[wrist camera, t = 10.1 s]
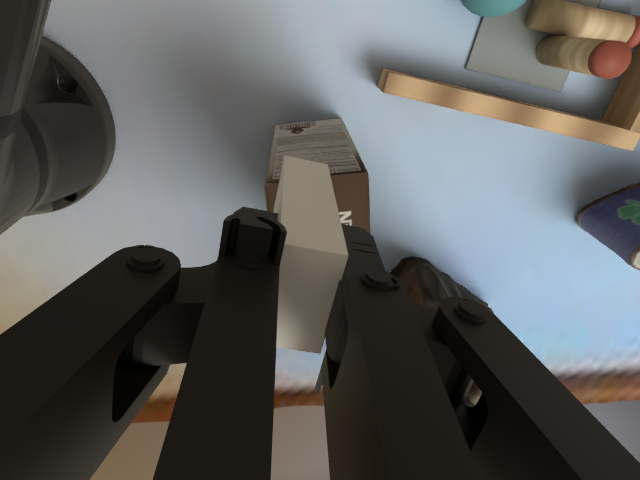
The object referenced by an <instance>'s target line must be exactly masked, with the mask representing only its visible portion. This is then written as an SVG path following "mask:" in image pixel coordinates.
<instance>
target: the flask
mask: <svg viewBox="0 0 640 480" xmlns="http://www.w3.org/2000/svg"><path fill="white" fill-rule="evenodd" d="M577 219H578V221H577V224H578V225H579V227H580V228H582V229H583V230H584V231H586V232H588V233H589V234H590V235H592V236H593V237H595V238H596V239H597V240H598V241H600V242H601V243H602V244H604V245H605V246H607V247H608V248H609V249H611V250H612V251H614V252H615V253H616V254H617V255H619V256H620V257H621V258H622V259H623V260H624V261H625V262H626V263H627V264H629V265H631V266H632V267H634V268H636V269H638V270H640V183H638V184H636V185H632V186H628V187H626V188H623V189H621V190H620V191H618V192H614V193H612V194H610V195H607V196H605V197H603V198H601V199H598V200H596V201H595V202H592V203H590V204H588V205H587V206H586V207H584V208H583V209H581V211H580V212H578V214H577V216H576V220H577Z"/></svg>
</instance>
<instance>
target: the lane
mask: <svg viewBox="0 0 640 480" xmlns="http://www.w3.org/2000/svg"><path fill="white" fill-rule="evenodd" d="M378 88H379V89H380V90H381V91H382V92H383V93H387V94H392V95H396V96H400V97H404V98H409V99H413V100H417V101H422V102H426V103H430V104H434V105H439V106H443V107H447V108H452V109H456V110H460V111H464V112H469V113H473V114H477V115H481V116H486V117H490V118H494V119H499V120H503V121H507V122H511V123H516V124H520V125H524V126H529V127H533V128H537V129H541V130H546V131H550V132H554V133H559V134H563V135H567V136H571V137H576V138H580V139H584V140H589V141H593V142H597V143H601V144H606V145H610V146H614V147H619V148H623V149H627V150H631V151H633V150H634V148H635V146H636V144H637V142H638V140H639V139H640V42H639V44H638V46H637V48H636V50H635V52H634V54H633V56H632V58H631V62H630V64H629V66H628V68H627V69H626V71H625V73H624V75H623V77H622V79H621V81H620V83H619V85H618V87H617V89H616V91H615V93H614V96H613V98H612V100H611V102H610V104H609V106H608V108H607V110H606V112H605V114H604V116H603V118H602V120H601V121H600V120H596V119H592V118H588V117H584V116H580V115H576V114H571V113H567V112H563V111H559V110H555V109H551V108H547V107H542V106H538V105H534V104H530V103H526V102H522V101H518V100H513V99H509V98H505V97H501V96H497V95H493V94H489V93H485V92H480V91H476V90H472V89H468V88H464V87H460V86H456V85H451V84H447V83H443V82H439V81H435V80H431V79H427V78H422V77H418V76H414V75H410V74H406V73H402V72H398V71H393V70H389V69H385V68H382V72H381V76H380V79H379V83H378Z"/></svg>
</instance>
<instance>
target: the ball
mask: <svg viewBox="0 0 640 480" xmlns="http://www.w3.org/2000/svg"><path fill="white" fill-rule="evenodd" d="M460 1H461V2H462V4H463V5H464V6H465V7H466V8H467V9H468V10H469V11H471V12H472V13H474V14H476V15H479V16H483V17H499V16H503V15H506V14H508V13H510V12H512V11H514V10H516V9H517V8H519V7H520V6H521V5H522V4H523V3H524V2H525V1H526V0H460Z"/></svg>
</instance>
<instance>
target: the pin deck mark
mask: <svg viewBox="0 0 640 480" xmlns="http://www.w3.org/2000/svg"><path fill="white" fill-rule="evenodd" d="M563 1H568V2H572V3H577V4H582V5H586V6H591V7H596V8H598V5H599V3H600V1H601V0H563ZM531 2H532V0H526V1H525V2H524V3H523V4H522V5H521V6H520V7H519V8H517V9H516V10H514V11H512V12H510V13H508V14H506V15H503V16H499V17H483V18H482V21H481V24H480V27H479V30H478V33H477V36H476V39H475V42H474V45H473V47H472V50H471V53H470V56H469V59H468V62H467V65H466V68H465V69H469V70H473V71H477V72H481V73H485V74H489V75H493V76H497V77H501V78H505V79H509V80H513V81H517V82H521V83H525V84H529V85H533V86H537V87H541V88H545V89H549V90H553V91H557V92H561V90H562V88H563V86H564V83H565V81H566V79H567V77H568V74H569V72H570V70H566V69H561V68H557V67H552V66H548V65H543V64H541V63H540V62H539V61H538V60H537V58H536V48H537V45H538V44H539V42H540V41H541V40H542V39H543V38H544V37H546V36H548V35H557V34H553V33H548V32H543V31H538V30H533V29H528V28H526V27H525V19H526V16H527V13H528V10H529V7H530V4H531Z"/></svg>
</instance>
